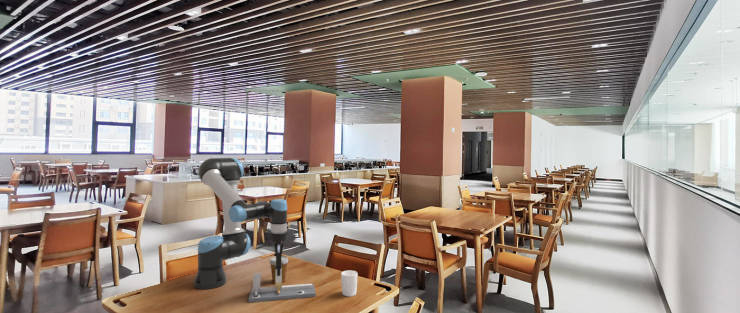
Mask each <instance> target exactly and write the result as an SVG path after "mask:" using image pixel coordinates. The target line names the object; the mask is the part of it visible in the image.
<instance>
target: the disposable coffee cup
mask: <svg viewBox="0 0 740 313" xmlns="http://www.w3.org/2000/svg"><path fill="white" fill-rule="evenodd" d="M281 260H282V263H283V265H282V284H283V283H285V282H286V275H287V268H288V262H289V259H288V257H287V256H283V255H281ZM275 262H276V256H273V257H270V260H269V264H270V270H271V278H272V280H271V281H272V283H273V284H275V269H274V268H275Z"/></svg>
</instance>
